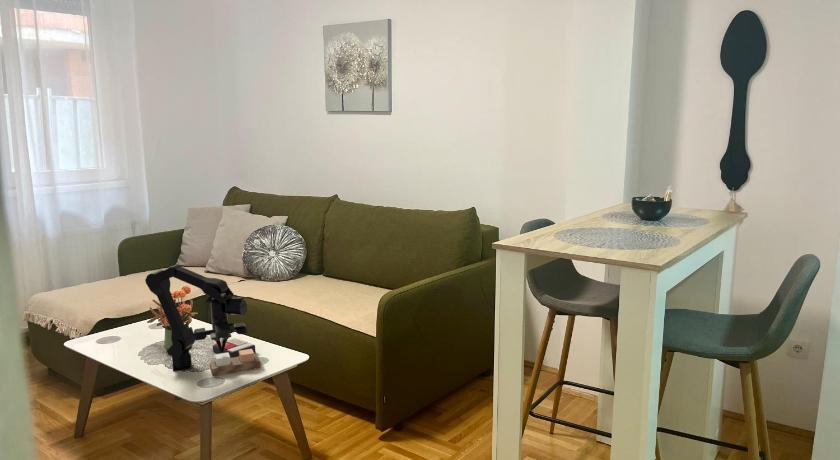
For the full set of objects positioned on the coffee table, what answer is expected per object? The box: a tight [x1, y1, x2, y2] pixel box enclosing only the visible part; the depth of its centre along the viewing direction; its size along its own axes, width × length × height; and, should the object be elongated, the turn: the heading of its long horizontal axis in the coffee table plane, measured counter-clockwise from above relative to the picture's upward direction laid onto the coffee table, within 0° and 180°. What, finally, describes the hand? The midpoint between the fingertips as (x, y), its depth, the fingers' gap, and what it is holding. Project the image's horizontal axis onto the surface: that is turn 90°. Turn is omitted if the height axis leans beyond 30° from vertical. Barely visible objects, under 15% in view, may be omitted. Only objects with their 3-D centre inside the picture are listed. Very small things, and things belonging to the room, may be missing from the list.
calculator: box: [212, 337, 257, 358], centre depth 257 cm, size 11×4×15 cm
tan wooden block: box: [239, 349, 255, 363], centre depth 242 cm, size 5×5×4 cm
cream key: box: [214, 353, 231, 367], centre depth 239 cm, size 5×5×4 cm
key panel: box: [209, 353, 262, 377], centre depth 241 cm, size 18×8×3 cm, turn 114°
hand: (221, 352), depth 238 cm, fingers closed
